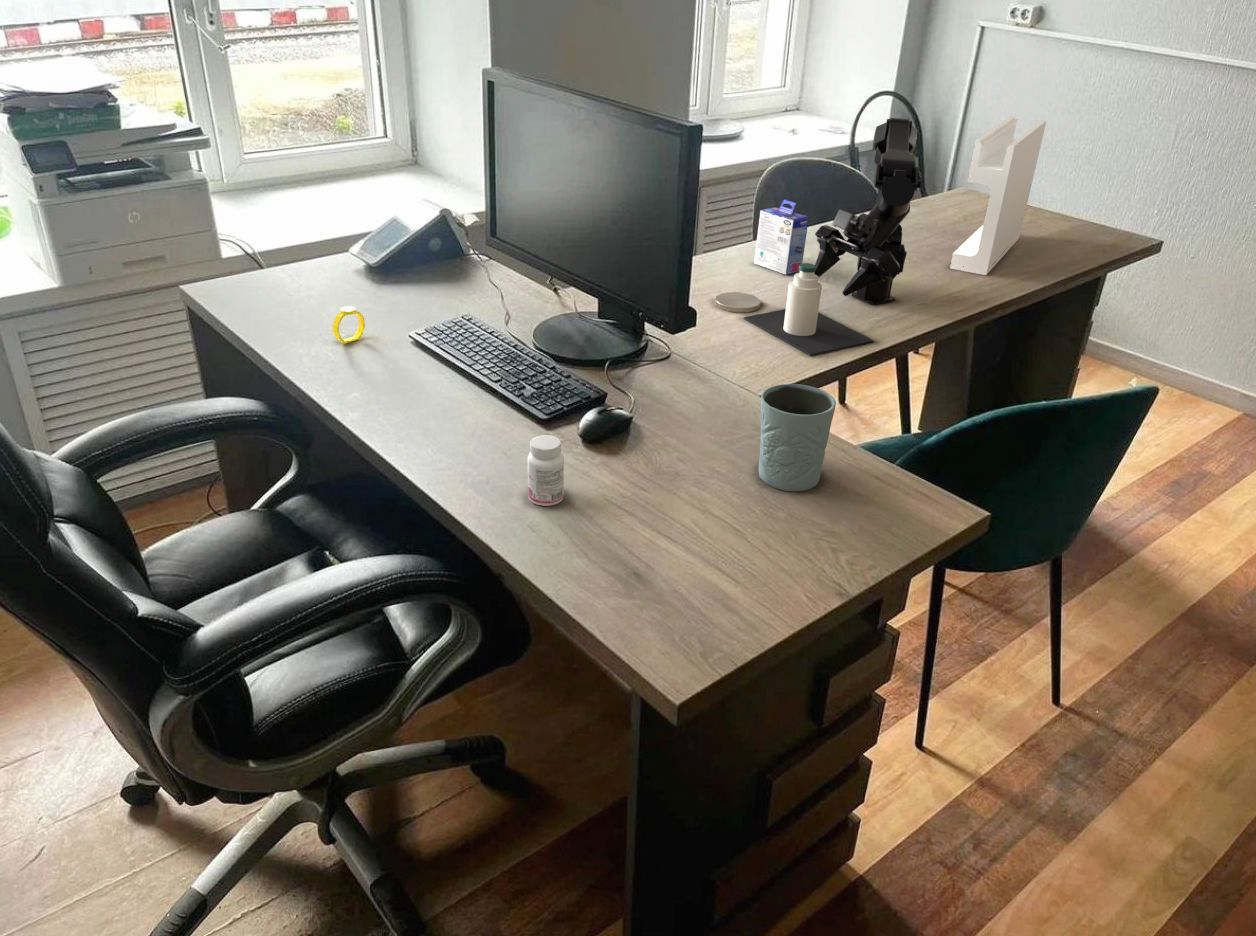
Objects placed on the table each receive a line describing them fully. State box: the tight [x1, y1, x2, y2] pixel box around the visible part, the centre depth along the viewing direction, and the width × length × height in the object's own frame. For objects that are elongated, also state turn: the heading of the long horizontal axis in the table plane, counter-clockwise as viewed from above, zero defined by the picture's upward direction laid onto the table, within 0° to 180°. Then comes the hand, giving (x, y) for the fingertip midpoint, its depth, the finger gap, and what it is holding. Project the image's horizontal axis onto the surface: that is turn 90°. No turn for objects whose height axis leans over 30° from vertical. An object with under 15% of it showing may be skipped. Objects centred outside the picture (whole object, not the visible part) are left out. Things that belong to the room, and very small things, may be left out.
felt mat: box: [743, 308, 874, 357], centre depth 190 cm, size 15×20×1 cm
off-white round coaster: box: [714, 291, 761, 313], centre depth 200 cm, size 9×9×1 cm
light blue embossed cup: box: [758, 383, 837, 492], centre depth 139 cm, size 10×10×12 cm
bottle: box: [783, 262, 823, 336], centre depth 186 cm, size 6×6×12 cm
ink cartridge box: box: [753, 199, 810, 275], centre depth 218 cm, size 10×6×14 cm, turn 41°
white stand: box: [949, 116, 1047, 276], centre depth 231 cm, size 35×8×28 cm, turn 150°
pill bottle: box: [527, 434, 565, 507], centre depth 132 cm, size 5×5×8 cm
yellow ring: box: [332, 305, 366, 344], centre depth 176 cm, size 6×3×6 cm, turn 142°
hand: (827, 286), depth 188 cm, fingers open, 9 cm apart
